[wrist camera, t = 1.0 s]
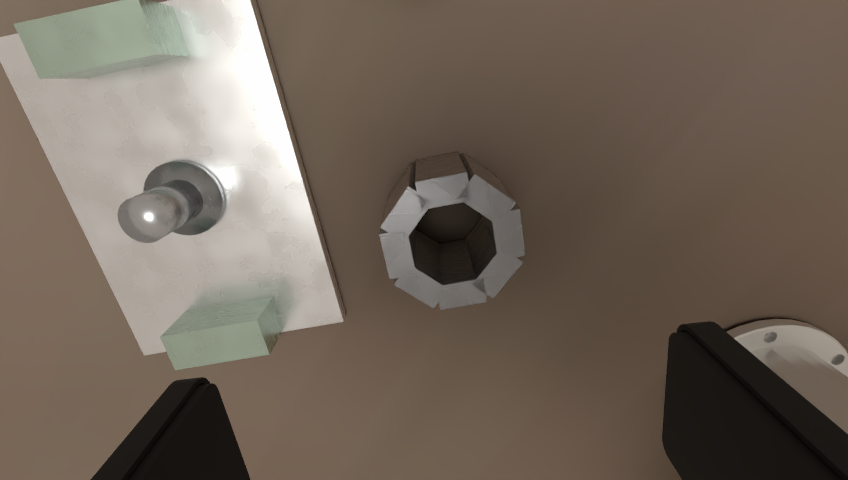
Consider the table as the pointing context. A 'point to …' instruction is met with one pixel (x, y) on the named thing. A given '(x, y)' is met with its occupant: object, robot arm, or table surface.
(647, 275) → the table surface
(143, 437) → the robot arm
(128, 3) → the seat
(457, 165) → the hub
